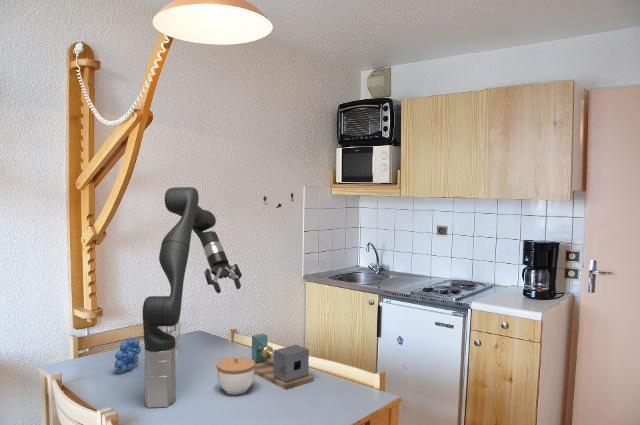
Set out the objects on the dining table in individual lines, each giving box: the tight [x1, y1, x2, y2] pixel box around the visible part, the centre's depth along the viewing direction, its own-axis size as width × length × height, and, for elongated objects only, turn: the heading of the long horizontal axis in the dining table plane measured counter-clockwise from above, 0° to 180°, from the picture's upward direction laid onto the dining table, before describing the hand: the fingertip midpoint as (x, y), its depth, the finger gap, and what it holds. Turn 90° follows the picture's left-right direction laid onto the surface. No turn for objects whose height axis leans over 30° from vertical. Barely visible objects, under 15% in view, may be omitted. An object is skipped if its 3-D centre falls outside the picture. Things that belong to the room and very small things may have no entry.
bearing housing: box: [273, 344, 310, 383], centre depth 173 cm, size 7×10×10 cm
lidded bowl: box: [216, 356, 256, 396], centre depth 164 cm, size 13×13×11 cm
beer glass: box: [161, 318, 181, 357], centre depth 198 cm, size 7×7×15 cm
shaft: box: [251, 333, 274, 363], centre depth 181 cm, size 19×5×10 cm, turn 41°
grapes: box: [114, 337, 142, 374], centre depth 181 cm, size 12×7×12 cm, turn 154°
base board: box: [254, 357, 314, 390], centre depth 179 cm, size 26×12×2 cm, turn 41°
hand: (229, 290), depth 194 cm, fingers open, 8 cm apart
